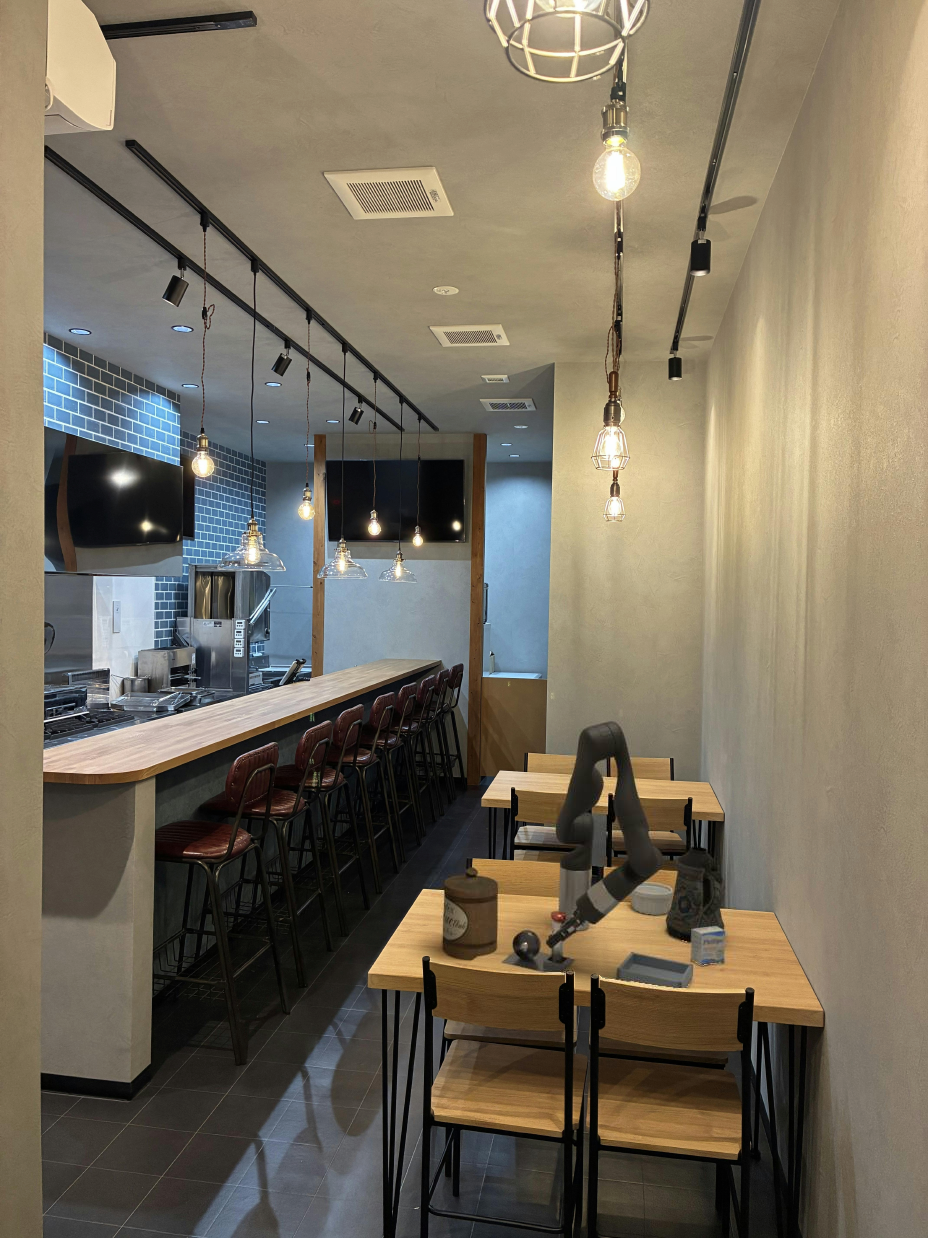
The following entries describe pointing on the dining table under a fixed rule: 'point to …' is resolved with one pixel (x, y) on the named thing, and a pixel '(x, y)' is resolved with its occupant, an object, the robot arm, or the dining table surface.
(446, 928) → the wooden container
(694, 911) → the beer stein
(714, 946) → the medicine box
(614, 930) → the dining table surface
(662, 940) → the dining table surface
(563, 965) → the pin socket base
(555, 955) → the pin
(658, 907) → the ramekin
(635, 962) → the tray
